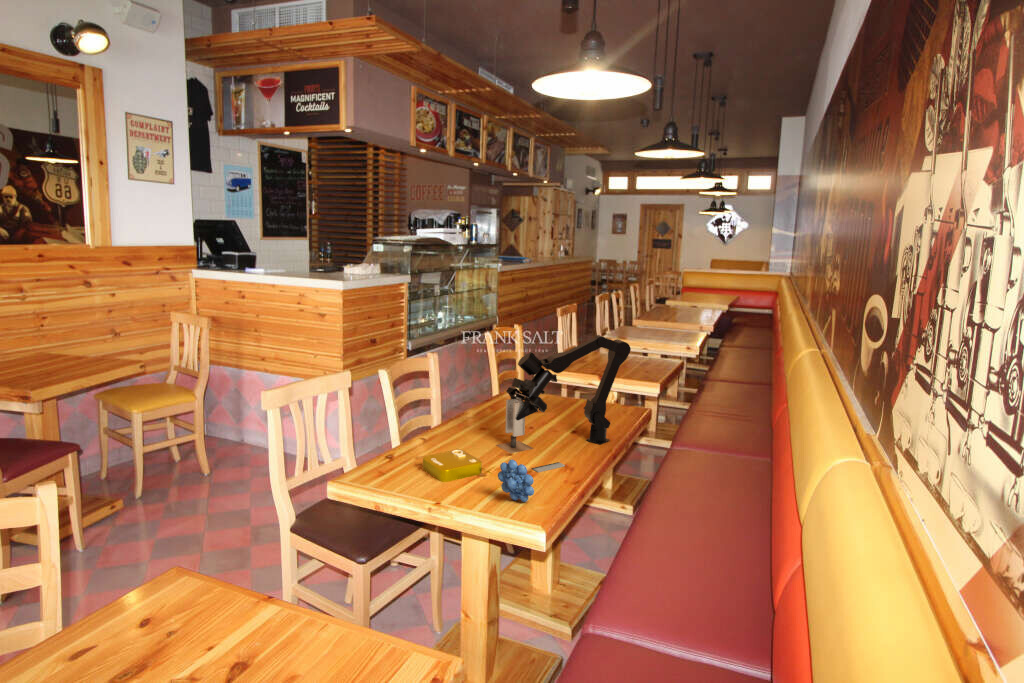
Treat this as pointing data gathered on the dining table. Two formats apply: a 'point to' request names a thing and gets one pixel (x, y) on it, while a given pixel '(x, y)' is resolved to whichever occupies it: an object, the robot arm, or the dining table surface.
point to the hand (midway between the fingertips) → (512, 417)
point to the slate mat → (548, 467)
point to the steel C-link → (514, 417)
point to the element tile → (452, 465)
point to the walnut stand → (514, 446)
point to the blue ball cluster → (516, 481)
